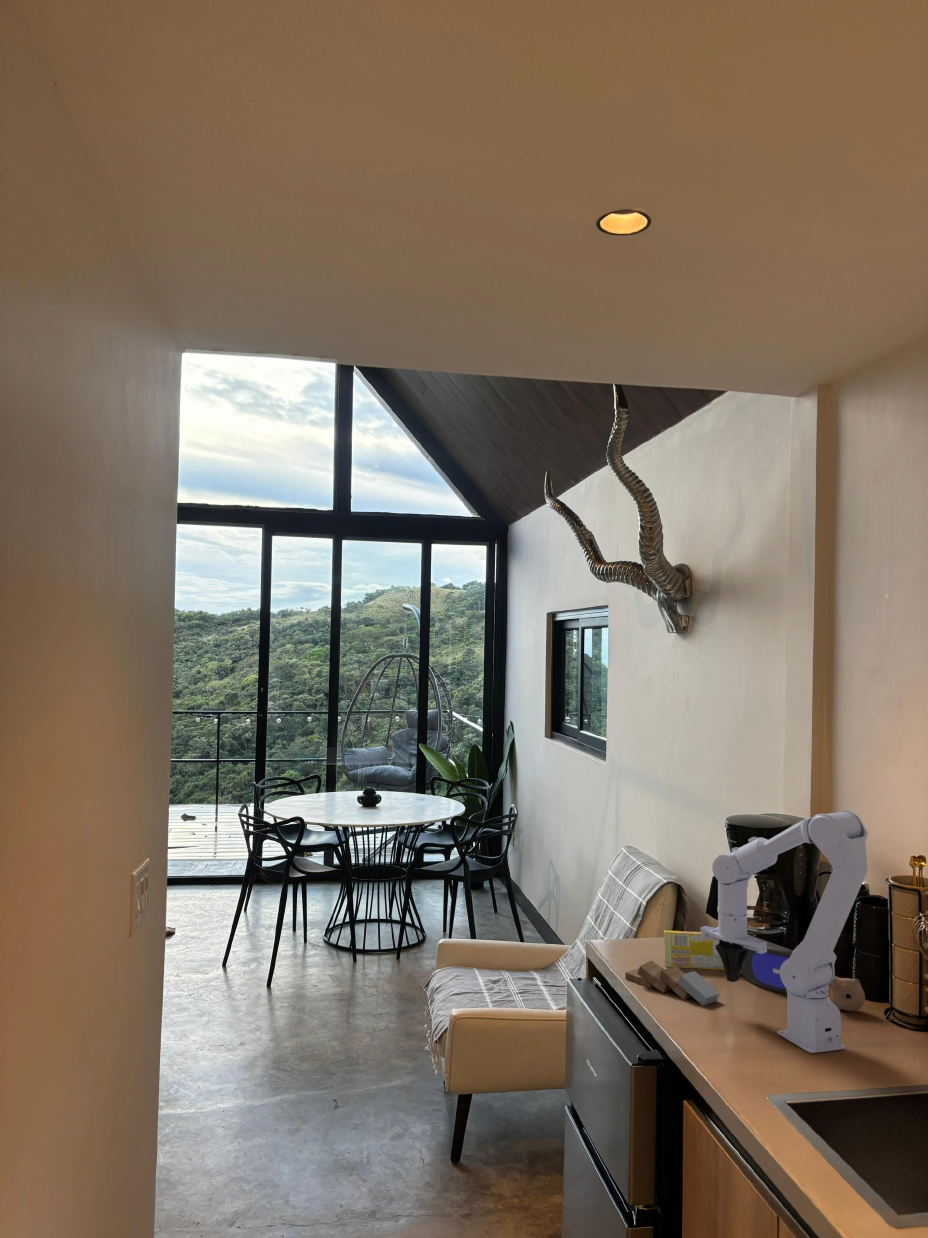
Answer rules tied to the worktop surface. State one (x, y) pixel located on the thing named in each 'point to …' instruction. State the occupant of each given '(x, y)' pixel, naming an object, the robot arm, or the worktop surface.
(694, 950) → the candy box
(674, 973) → the domino
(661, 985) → the domino
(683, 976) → the slate domino
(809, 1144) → the worktop surface
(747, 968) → the dark grey curved shell
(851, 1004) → the oil lamp
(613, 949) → the worktop surface
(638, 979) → the domino
